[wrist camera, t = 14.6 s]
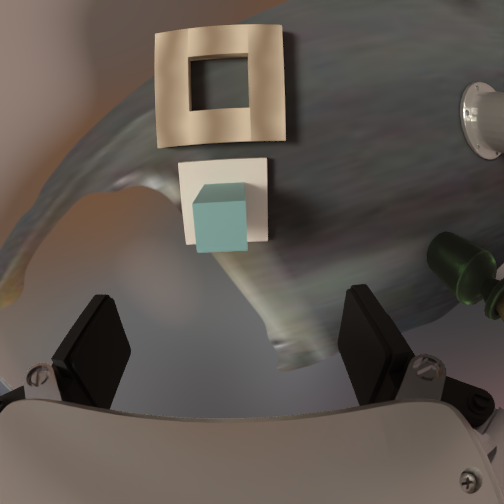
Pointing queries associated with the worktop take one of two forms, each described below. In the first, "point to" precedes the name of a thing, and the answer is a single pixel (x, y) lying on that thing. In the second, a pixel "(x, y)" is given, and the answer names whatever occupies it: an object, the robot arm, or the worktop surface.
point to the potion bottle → (467, 272)
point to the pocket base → (220, 120)
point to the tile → (227, 172)
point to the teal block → (220, 218)
